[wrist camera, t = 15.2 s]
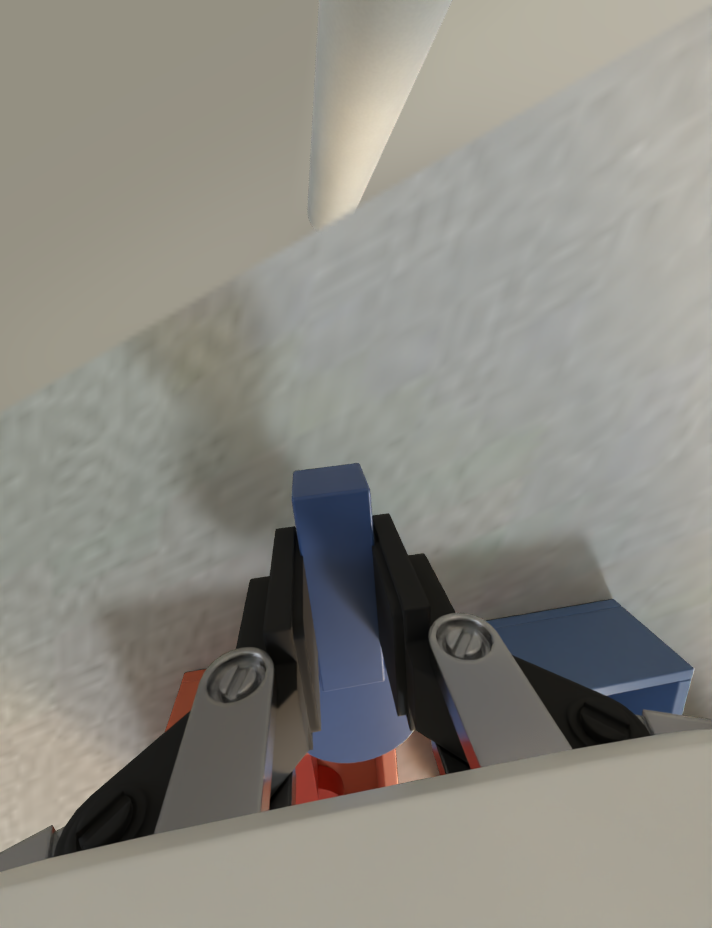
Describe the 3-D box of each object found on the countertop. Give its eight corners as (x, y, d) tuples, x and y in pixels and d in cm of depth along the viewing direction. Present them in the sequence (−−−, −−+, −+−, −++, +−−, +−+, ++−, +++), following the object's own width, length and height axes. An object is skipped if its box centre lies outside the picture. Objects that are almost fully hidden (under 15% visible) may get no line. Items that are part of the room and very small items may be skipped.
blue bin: (446, 627, 20) (487, 709, 16) (613, 598, 21) (695, 668, 16) (448, 796, 24) (480, 896, 20) (586, 766, 25) (645, 856, 21)
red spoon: (240, 689, 19) (234, 725, 17) (327, 674, 19) (330, 707, 17) (273, 822, 22) (270, 863, 20) (346, 807, 22) (350, 845, 21)
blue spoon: (246, 476, 10) (236, 506, 9) (402, 456, 11) (421, 481, 9) (299, 738, 14) (299, 795, 12) (414, 716, 14) (430, 769, 13)
